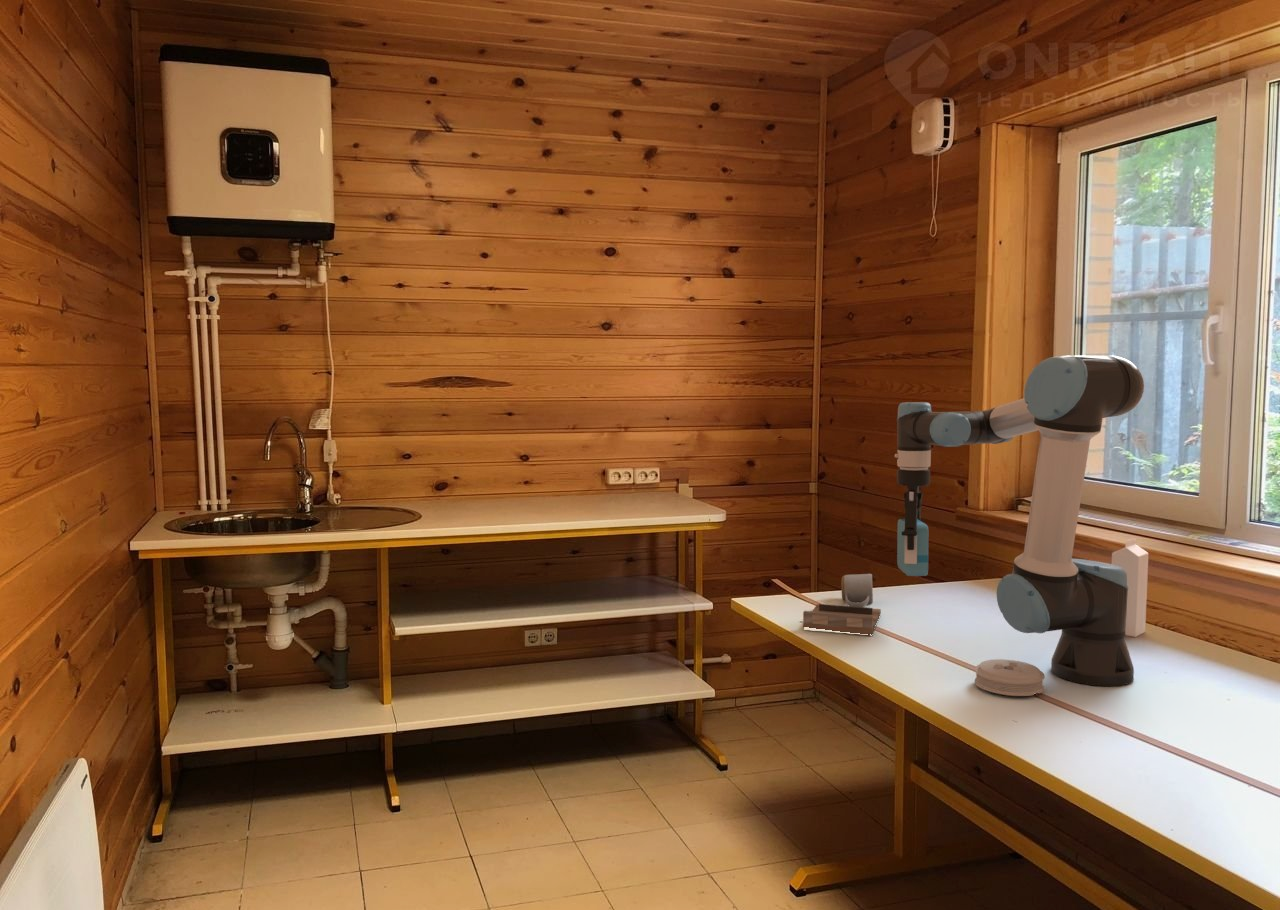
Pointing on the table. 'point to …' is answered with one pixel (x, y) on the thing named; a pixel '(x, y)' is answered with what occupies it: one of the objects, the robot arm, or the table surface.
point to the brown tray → (842, 618)
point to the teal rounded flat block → (922, 550)
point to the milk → (1134, 584)
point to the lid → (1009, 677)
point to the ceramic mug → (857, 589)
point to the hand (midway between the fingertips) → (912, 558)
